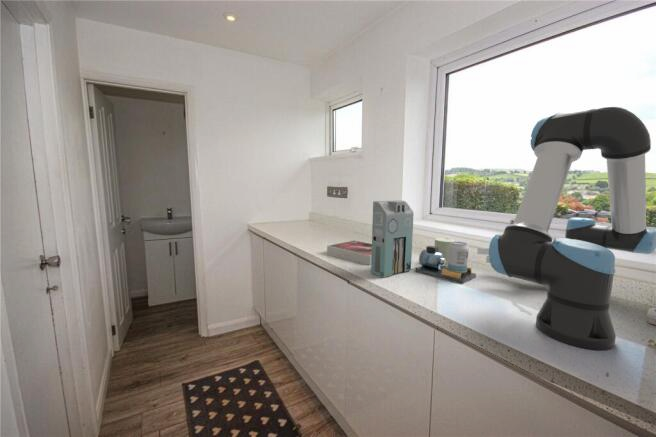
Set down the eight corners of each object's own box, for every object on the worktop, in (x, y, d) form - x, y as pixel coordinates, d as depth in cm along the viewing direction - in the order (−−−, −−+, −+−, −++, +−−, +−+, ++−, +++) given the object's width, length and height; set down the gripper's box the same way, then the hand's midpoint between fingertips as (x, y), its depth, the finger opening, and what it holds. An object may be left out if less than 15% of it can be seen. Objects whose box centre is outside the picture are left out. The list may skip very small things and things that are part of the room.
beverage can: (457, 269, 119) (459, 240, 118) (470, 274, 113) (472, 244, 111) (444, 270, 117) (445, 241, 116) (456, 275, 111) (458, 245, 109)
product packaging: (353, 248, 166) (354, 240, 165) (395, 258, 146) (396, 248, 145) (327, 254, 151) (327, 245, 150) (369, 266, 131) (370, 255, 130)
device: (384, 278, 113) (387, 202, 109) (370, 273, 119) (372, 201, 116) (411, 271, 123) (414, 201, 119) (397, 266, 129) (399, 200, 125)
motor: (462, 283, 108) (464, 256, 106) (415, 271, 122) (416, 247, 121) (475, 277, 115) (477, 251, 114) (429, 266, 130) (431, 243, 129)
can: (457, 263, 135) (458, 238, 134) (449, 267, 128) (451, 241, 127) (437, 260, 141) (439, 236, 140) (429, 263, 135) (431, 238, 133)
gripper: (561, 279, 95) (490, 273, 100) (529, 260, 119) (473, 256, 124) (563, 257, 94) (492, 252, 99) (531, 242, 118) (475, 239, 123)
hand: (481, 254), depth 112 cm, fingers open, 13 cm apart
